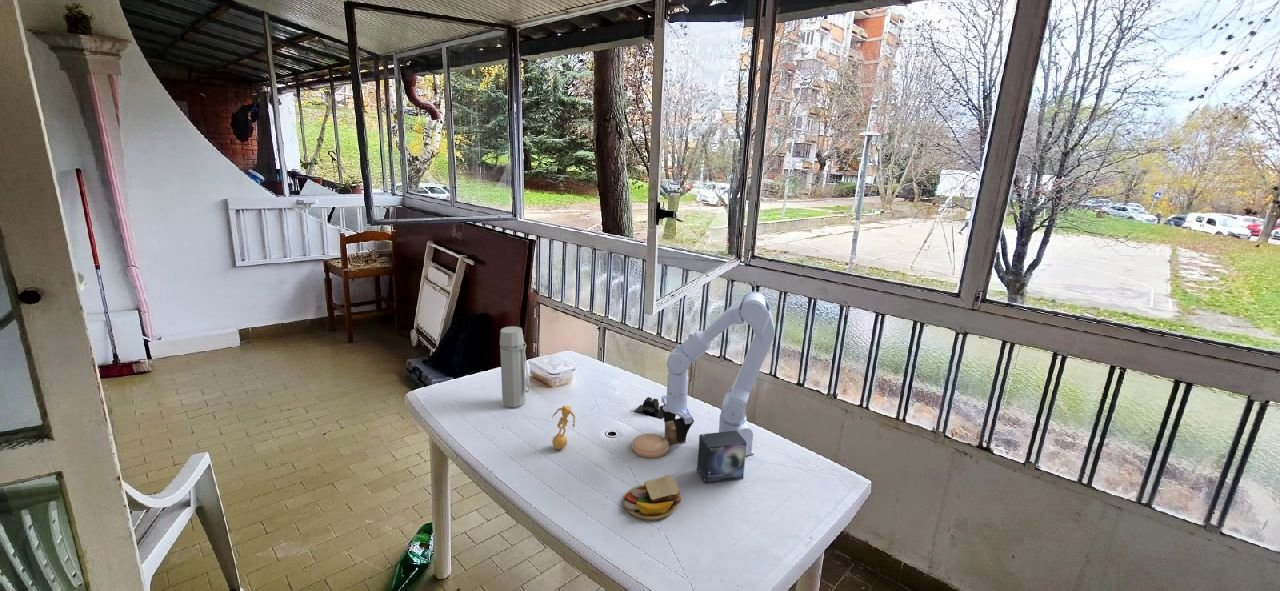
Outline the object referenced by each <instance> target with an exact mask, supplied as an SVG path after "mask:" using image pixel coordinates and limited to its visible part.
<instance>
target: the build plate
mask: <svg viewBox="0 0 1280 591" xmlns="http://www.w3.org/2000/svg"><path fill="white" fill-rule="evenodd" d="M659 407H660V402H659V399H658V398H652V397H649V396H648V397H646V398H645V399H644V400H643V404H639V405H638V407H637V408H636V409H635V410H634V411H633V413H636V414H639V415H644V416H647V417H651V418H655V419H659V420H664V419H663V415H662V413H661V411H660V409H659Z"/></svg>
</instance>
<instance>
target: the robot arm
mask: <svg viewBox="0 0 1280 591" xmlns="http://www.w3.org/2000/svg"><path fill="white" fill-rule="evenodd" d="M744 322H745V323H746V324H748V325H749V326H750V327H751V329H752V331H753V332H754V336H753V338H752V341H751V343H750V345H749V347H748V350H747V352H746V354H745V357H744V360H743V362H742V364H741V366H740V368H739V370H738V373H737V376H736V377H735V381H734V382H733V383H732V386H731V387H730V389H729V390H727V391H726V392H725V393H724V395H723V399H722V400H723V402H722V408H721V410H720V414H719V420H718V421H719V423H718V424H719V425H718V426H719V427H718V432H727V431H736V430H737V432H738V433H739V434H740V435H741V436H742V437H743V439H744V440H745V441H746V442H747V445H746V454H745V457H746V456H750V455H754V454H755V452H754V451H753V449H752V448H753V440H754V433H753V430H752V429H751V428H750V426H749V425H748V422H747V415H746V407H747V404H748V400H749V396H750V393H751V391H752V389H753V386H754V384H755V381H756V379H757V377H758V374H759V372H760V371H761V367H762V365H763V363H764V361H765V359H766V357H767V354H768V352H769V350H770V347H771V345H772V342H773V341H774V338H775V335H776V329H775V324H774V320H773V315H772V311H771V306H770V303H769V302H768V300H767V299H766V296H764V295H763V294H762V293H760V292H759V291H749V292H747V293H746V294H745V295H744V296H743V298H739V299H737V300H736V301H735V302H734V303H733V304H731V305H730V306H729V307H728V308H727V309H726V310H725V311H723V312H722V314H720V315H719V316H717V318H716V319H715V320H714V321H713V322H712V323H710V325H708V326H707V327H706V329H704V330H695V332H690V333H689V334H688V336H687V339H686V340H684V341H683V342H682V343H681V344H679V343H678V344H677V345H676V347H675V348H674V349H673V350H671V351H670V353H669V355H668V356H667V357H668V358H667V360H666V368H667V373H668V374H667V377H666V378H667V381H666V394H664V395H661V403H662V404H663V405H659V409H660V411H661V413H662V415H663V419H662V420H663V422H664V424H665V422H668V421H673V422H674V424H675V428H676V437H677V441H678V442H683V441H685V439H686V440H687V435H688V433H689V430H690V428H691V427H692V426H693V424H694V423H695V419H694V418H693V417H694V416H692V414H691V412H690V409H689V406H688V391H689V365H690V364H691V363H694V362H696V360H698V359H699V358H700V357H701V356H702V355H703V354H705V353H706V352H707V351H708V350H710V348H712V341H713V340H714V339H715V338H717V337H718V336H719V335H720V334H722V333H723V332H724V331H726V330H727V329H728V328H730V327H731V326H732V325H733V324H734V325H735V324H736V325H744ZM676 417H679V418H676Z"/></svg>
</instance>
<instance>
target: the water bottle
mask: <svg viewBox="0 0 1280 591" xmlns="http://www.w3.org/2000/svg"><path fill="white" fill-rule="evenodd" d="M499 331H500V332H499V333H500V335H499V346H500V348H499V350H500V351H499V352H500V373H501V398H502V404H503V406H504V407H507V408H509V409H510V408H511V409H512V408H513V409H515V408H520V407H522V406H524V405H525V403H526V402H527V401H526V393H529V392H530V389H531V388H530V386H531V384H530V377H529V370H528V363H527V356H526V354H527V353H526V350H527V349H526V348H527V343H526V342H525V340H524V334H523V332H524V331H523V328H522V327H519V326H505V327H502V328H501V329H500V330H499ZM526 377H527V389H526Z"/></svg>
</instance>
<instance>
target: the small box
mask: <svg viewBox="0 0 1280 591" xmlns="http://www.w3.org/2000/svg"><path fill="white" fill-rule="evenodd" d="M698 437H699V439H698V451H697V452H698V453H697V466H696V471H697V473H698V474H699V476H700V477H701V479H702V481H703V482H704V484H711V483H712V484H713V483H718V482H719V483H720V482H726V481H733V480H734V481H735V480H743V479H744V476H745V475H744V474H745V462H746V456H745V454H746V445H747V442H746V441H745V440H744V439H743V437H742V436H741V435H740V434H739V433H738V432H737V430H736V431H727V432H719V431H717V432H713V433H712V432H709V433H701V434H699V436H698Z"/></svg>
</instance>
